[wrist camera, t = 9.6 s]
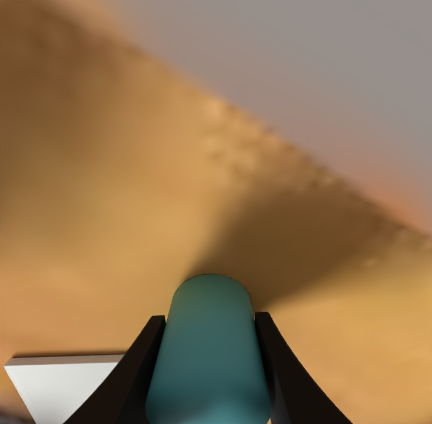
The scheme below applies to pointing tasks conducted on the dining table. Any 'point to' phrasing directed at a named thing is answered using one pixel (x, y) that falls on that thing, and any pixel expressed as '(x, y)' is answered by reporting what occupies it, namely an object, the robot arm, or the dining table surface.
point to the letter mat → (58, 383)
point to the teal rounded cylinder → (209, 358)
